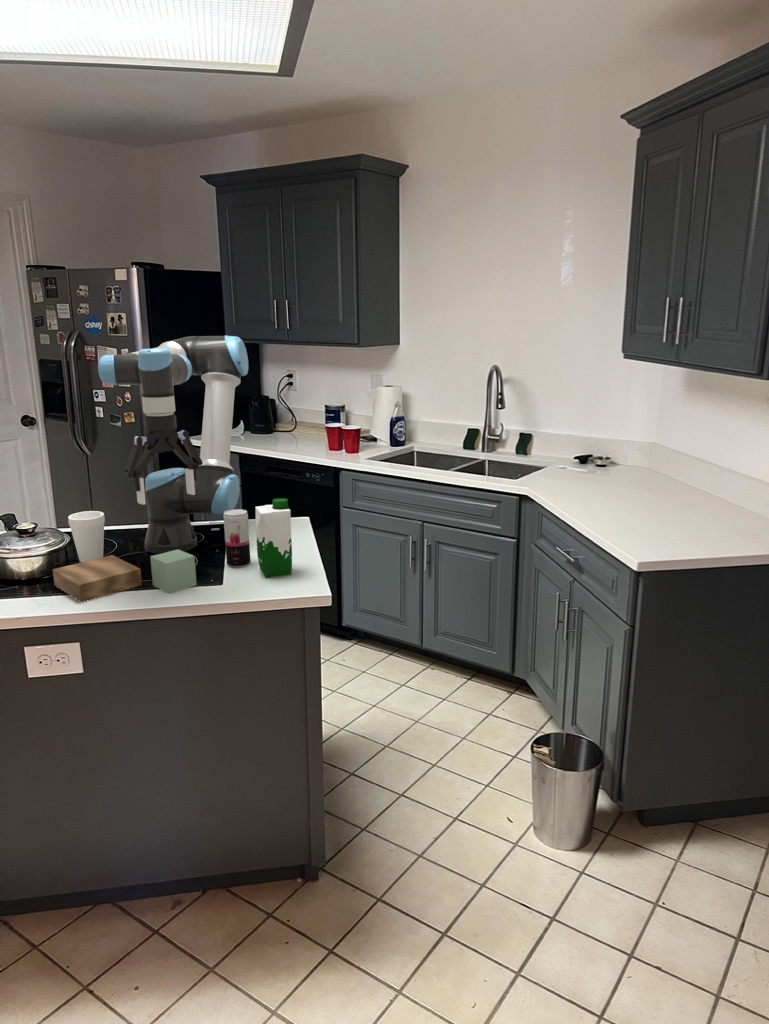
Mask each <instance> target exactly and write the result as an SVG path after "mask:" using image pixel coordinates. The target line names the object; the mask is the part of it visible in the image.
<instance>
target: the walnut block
mask: <svg viewBox="0 0 769 1024" xmlns="http://www.w3.org/2000/svg"><path fill="white" fill-rule="evenodd" d="M141 571H142V570H141V568H139V567H137V566H136V565H133V564H131V563H129V562H128V561H125V560H124V559H121V558H119V557H117V556H115V555H113V554H110V555H106V556H103V557H102V558H98V559H94V560H89V561H85V562H78V563H74V564H70V565H65V566H61V567H57V568H53V569H52V575H53V583H54V587H55V586H56V587H55V588H57V589H58V588H59V589H58V590H60V589H61V590H60V591H62V592H63V591H64V593H65V592H66V593H67V594H66V593H65V594H66V595H68V594H69V595H68V596H70V595H71V596H72V598H73V597H74V599H75V598H76V599H77V600H76V599H75V600H76V601H78V600H79V601H80V603H81V602H82V603H85V602H88V601H87V600H89V601H91V599H93V600H95V599H94V598H96V599H99V598H98V597H100V598H102V596H103V597H107V596H109V595H113V594H117V592H118V593H121V592H125V591H127V589H128V590H131V589H130V588H132V589H135V588H138V586H139V587H142V586H143V584H142V583H143V582H142V572H141ZM134 587H135V588H134ZM124 590H125V591H124ZM71 596H70V597H71ZM79 601H78V602H79ZM84 601H85V602H84Z"/></svg>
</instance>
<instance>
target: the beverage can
mask: <svg viewBox="0 0 769 1024" xmlns="http://www.w3.org/2000/svg"><path fill="white" fill-rule="evenodd" d="M222 515H223V528H224V542H225V543H224V546H225V558H226V559H225V560H226V565H227V566H229V567H230V568H231V567H232V568H244V567H247V566H249V565H250V564H251V548H250V530H249V528H250V526H249V514H248V511H247V509H242V508H240V509H238V508H237V509H236V508H234V509H233V510H228V511H225V512H224V514H222Z"/></svg>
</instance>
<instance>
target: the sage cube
mask: <svg viewBox="0 0 769 1024" xmlns="http://www.w3.org/2000/svg"><path fill="white" fill-rule="evenodd" d="M195 559H196V558H195V555H193V554H190V553H188V552H187V551H184V552H183V551H181V550H174V551H170V552H166V553H162V554H154V555H150V566H151V567H150V569H151V578H152V586H154V587H155V588H157V589H159V590H161V589H162V590H161V591H163V592H165V593H167V594H172V593H174V592H178V591H182V590H185V589H189V588H192V587H196V586H197V584H198V583H197V571H196V562H195V561H196V560H195Z"/></svg>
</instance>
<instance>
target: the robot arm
mask: <svg viewBox="0 0 769 1024" xmlns="http://www.w3.org/2000/svg"><path fill="white" fill-rule="evenodd" d="M97 369H98V371H97V372H98V375H99V376H98V377H99V379H100V381H101V382H102V383H103V384H105V385H111V386H113V385H114V386H138V385H139V386H140V389H141V401H142V402H141V403H142V412H143V413H144V414H145V415H144V416H143V424H144V430H145V431H144V432H145V435H144V436H138V435H134V436H133V438H132V447H131V450H130V453H129V455H128V458H127V461H126V465H125V467H124V470H123V472H122V473H123V474H122V475H123V476H126V477H128V478H130V479H131V484H132V490H133V491H135V492H136V500H137V503H138V504H140V505H143V506H144V505H146V508H147V509H146V510H147V517H148V526H147V529H146V535H145V539H144V550H145V551H146V552H149V553H151V554H156V555H158V554H162V553H166V552H170V551H174V550H181V551H183V552H187V551H190V550H192V549H194V548H195V547H197V545H198V537H197V535H196V532H195V530H194V527H193V525H192V523H191V520H190V514H192V515H193V514H195V515H215V516H218V515H224V512H225V511H228V510H233V509H236V506H237V504H238V500H239V497H240V490H241V486H240V479H239V476H238V475H236V474H235V470H234V468H233V467H232V466H231V465H230V459H231V449H232V448H231V447H232V446H231V445H232V434H233V433H232V432H233V431H232V430H233V418H234V405H235V402H234V401H235V392H236V391H235V390H236V388H237V387H238V386H239V385H240V384H241V380H242V379H241V378H242V377H244V376H247V375H248V372H249V358H248V352H247V347H246V346H245V343H244V341H243V339H241V338H240V337H239V336H235V335H225V334H224V335H205V336H204V335H203V336H202V335H199V336H198V335H194V336H193V335H191V336H184V337H181V338H177V339H173V340H169V341H165V342H162V343H161V344H160V345H159V346H157V347H153V348H143V349H140V350H138V351H133V352H128V353H124V354H114V353H113V354H105V355H102V356H101V357H100V358H99V361H98V364H97ZM191 376H200V377H201V380H202V381H203V383H204V384H205V390H204V391H205V392H204V400H203V401H204V403H203V404H204V405H203V414H202V415H203V417H202V429H201V438H200V439H201V441H200V452H199V453H200V454H199V453H198V451H197V450H196V447H195V446H194V444H193V442H192V440H191V439H190V438H191V437H190V432H189V431H188V430H183V429H180V430H179V431H178V432H177V415H175V412H176V402H175V401H176V400H175V392H174V390H175V389H174V386H176V385H181V384H183V383H185V382H187V381H188V380H189V379H190V377H191ZM178 439H179V440H180V441H181V443H182V445H183V446H184V447H185V450H186V451H187V452H185V451H184V450H183V449H182V448H181V447H180V445H179V444H177V441H178ZM145 444H146V445H147V446H146V447H145V449H144V450H143V446H144V445H145ZM142 450H143V451H144V452H143V454H142V455H141V453H142ZM171 451H172V452H173V453H174V454H175V455H176V456H177V457H178V458H179V459H180V461H182V462H183V464H184V465H185V466H187V468H186V467H185V468H184V467H171V468H167V469H166V468H165V469H161V470H157V471H154V472H151V473H149V474H148V475H146V477H145V479H144V477H142V474H143V473H144V472H145V470H146V468H147V466H149V465H148V464H149V463H150V461H151V460H152V459H153V457H154V456H155V455H156V454H157V453H159V454H161V453H164V452H168V453H169V452H171ZM186 453H187V454H188V455H187V454H186ZM140 455H141V457H140ZM139 458H140V459H139ZM144 482H145V483H144Z"/></svg>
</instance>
